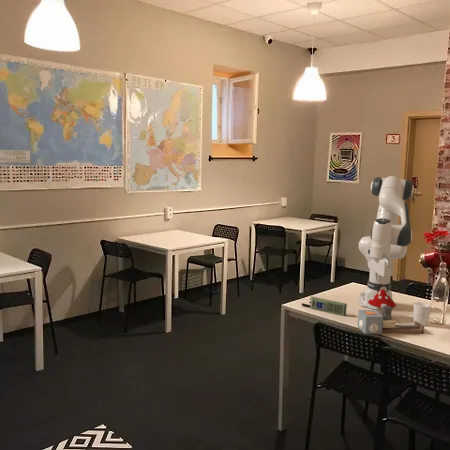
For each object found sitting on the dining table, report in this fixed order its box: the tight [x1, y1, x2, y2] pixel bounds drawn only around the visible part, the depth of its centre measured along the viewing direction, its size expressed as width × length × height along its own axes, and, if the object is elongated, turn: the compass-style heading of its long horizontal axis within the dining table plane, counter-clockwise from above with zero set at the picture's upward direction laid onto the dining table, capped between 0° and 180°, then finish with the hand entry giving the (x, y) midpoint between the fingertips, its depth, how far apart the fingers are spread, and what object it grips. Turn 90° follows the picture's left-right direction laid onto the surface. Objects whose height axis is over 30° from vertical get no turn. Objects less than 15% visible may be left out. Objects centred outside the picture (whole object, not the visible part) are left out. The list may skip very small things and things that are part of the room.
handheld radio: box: [301, 296, 348, 317], centre depth 260 cm, size 7×3×25 cm
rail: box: [382, 321, 425, 335], centre depth 234 cm, size 8×21×4 cm, turn 95°
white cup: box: [412, 301, 432, 327], centre depth 245 cm, size 8×8×10 cm
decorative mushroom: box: [368, 289, 397, 315], centre depth 252 cm, size 14×14×15 cm
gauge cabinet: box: [356, 309, 383, 335], centre depth 232 cm, size 10×8×8 cm
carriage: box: [382, 306, 397, 328], centre depth 233 cm, size 7×6×9 cm
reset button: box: [365, 311, 376, 315], centre depth 232 cm, size 4×4×3 cm
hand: (378, 282), depth 231 cm, fingers closed
